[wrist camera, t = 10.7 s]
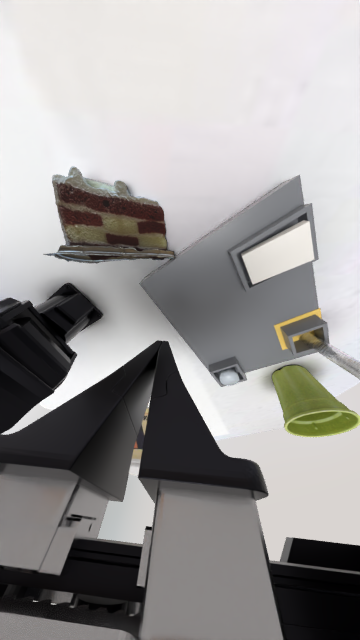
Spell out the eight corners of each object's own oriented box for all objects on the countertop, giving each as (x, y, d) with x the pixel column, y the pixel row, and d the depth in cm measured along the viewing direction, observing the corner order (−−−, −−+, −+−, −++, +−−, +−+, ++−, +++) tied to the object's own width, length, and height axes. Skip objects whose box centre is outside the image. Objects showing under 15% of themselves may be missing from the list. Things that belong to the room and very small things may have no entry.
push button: (223, 380, 25) (224, 387, 24) (215, 371, 24) (216, 377, 23) (239, 376, 24) (241, 382, 23) (233, 365, 23) (235, 372, 22)
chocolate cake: (183, 184, 14) (-5, 81, 7) (184, 259, 16) (41, 248, 9) (139, 215, 21) (22, 182, 13) (144, 265, 23) (45, 262, 16)
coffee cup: (152, 402, 38) (139, 465, 28) (172, 417, 42) (167, 476, 32) (128, 409, 42) (108, 467, 32) (149, 422, 46) (137, 477, 36)
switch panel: (214, 369, 29) (218, 391, 25) (145, 277, 19) (133, 289, 15) (313, 338, 23) (336, 360, 19) (284, 181, 13) (320, 164, 9)
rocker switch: (251, 280, 15) (252, 284, 15) (240, 253, 14) (241, 256, 13) (308, 256, 13) (314, 259, 12) (303, 220, 12) (309, 221, 11)
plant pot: (307, 387, 30) (343, 438, 23) (259, 388, 31) (279, 437, 24) (323, 356, 25) (377, 410, 18) (265, 360, 26) (293, 411, 19)
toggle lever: (291, 345, 19) (425, 441, 11) (301, 329, 17) (466, 427, 9) (305, 341, 20) (440, 428, 11) (316, 326, 18) (480, 413, 10)
